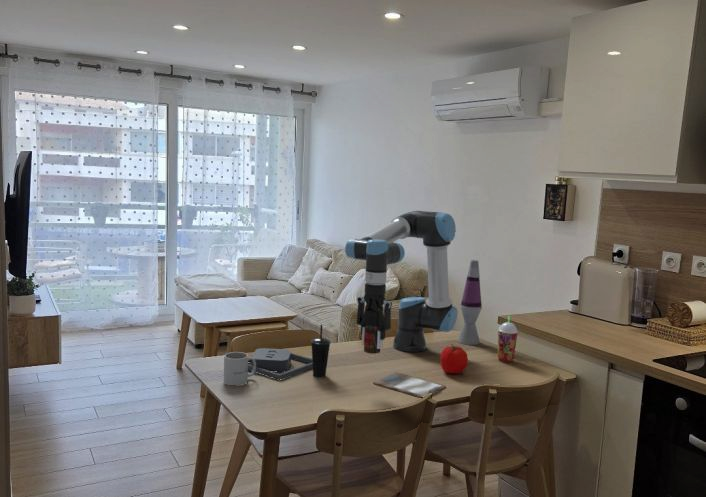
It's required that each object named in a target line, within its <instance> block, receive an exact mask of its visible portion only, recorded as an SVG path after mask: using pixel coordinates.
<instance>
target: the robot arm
mask: <svg viewBox="0 0 706 497" xmlns="http://www.w3.org/2000/svg"><path fill="white" fill-rule="evenodd" d="M455 233H456V223H455V219H454V217H453V215H451V214H449V213H447V212H441V211H439V212H438V211H422V210H412V211H407V212H405V213H403V214H400V215H398V216H396V217H394V218H393V219H392V220H391V221H390V223H388V224H386V225H384V226H383V227H381V228H379V229H377V230H376V231H373V232H371V233H369V234H368V235H366V236H364V237H361V238H359V239H358V238H351V239H349V240H348V241H347V242H346V243H345V248H344V250H345V255H346V257H347V258H349V259H353V260H359V261H365V274H364V275H365V278H364V281H365V283H364V296H359V297H357V298H356V299H357V313H356V324H357V325H359V326H360V335H361V336H362V337H361V345H362V346H364V338H365V317H366V310H371V309H375V312H378V323H379V328H380V330H379V331H378V338H377V349H380V350H381V349H382V348H384V340H385V339H386V331H389V330H390V329H391V327H392V323H391V322H392V321H391V320H392V318H391V317H392V316H391V314H392V311H391V310H392V306H393V303H392V302H391V301H387V300H386V297H385V295H386V293H387V292H386V291H387V290H386V289H387V288H386V287H387V286H386V283H387V268H388V265H392V264H397V263H399V262H401V261H403V259H404V258H405V255H406V254H405V248H404V247H403V245H402V244H401V243H399V242H396V241H398V240H403V239H404V240H405V239H407V238H417V239H422V242H423V243H422V245H423V246H424V247H425V248H426V258H427V280H428V281H427V282H428V283H427V286H428V287H427V288H428V298H427V299H426V298H425V297H422V296H418V297H417V296H409V297H405V298H402V299H401V300H399V307H398V321H397V322H398V323H397V331H396V334H395V337H394V339H393V341H392V342H393V343H392V347H393V348H394V349H396V350H399V351H402V352H409V353H410V352H411V353H418V352H422V351H425V350H426V349H427V342H426V338H425V334H424V329H427V330H432V331H437V332H439V333H440V332H443V333H449V332H451V331H452V330H453V329H454V327H455V324H456V321H457V319H458V309H457V307H456V306H453V301H452V299H451V298H450V297H449V271H448V269H449V268H448V265H449V264H448V262H449V261H448V247H449V246H450V245H451V244H452V243H451V242H452V241H453V240H454V239H455V238H456V237H455V235H456V234H455Z"/></svg>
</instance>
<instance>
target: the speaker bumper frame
mask: <svg viewBox="0 0 706 497" xmlns="http://www.w3.org/2000/svg"><path fill="white" fill-rule="evenodd" d="M250 357H252V355H251V356H250ZM292 358H293V359H292ZM291 359H292V360H295V359H296V360H295V361H298V360H299V361H298V362H301V363H306V364H304V365H302V366H299V367H298V366H297V367H295V368H293V369H289V370H288V371H286V372H280V373H278V372H271V371H268V370H265V369H262V368H259V367H256V370H255V372H258V373H261V374H264V375H267V376H269V377H268V378H270V377H273V378H275V379H274V380H276V379H279V380H280V379H282V380H284V379H283V378H285V379H287V378H286V377H288V378H290V377H293V376H296V375H298V373H299V374H301V373H304V372H306V370H307V371H309V370H311V369H312V370H313V363H312V358H311V357H308V356H307V357H306V356H304V355H300V354H297V353H293V352H291ZM248 362H251V360H248ZM308 363H309V364H308ZM249 370H253V365H251V364H250V363H248V371H249ZM258 373H257V374H258ZM261 374H260V375H261ZM295 374H296V375H295ZM264 375H263V376H264ZM292 375H293V376H292ZM267 376H266V377H267ZM289 376H290V377H289ZM273 378H272V379H273ZM279 380H278V381H279ZM280 381H281V380H280Z"/></svg>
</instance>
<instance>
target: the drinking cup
mask: <svg viewBox="0 0 706 497" xmlns="http://www.w3.org/2000/svg"><path fill="white" fill-rule="evenodd" d="M319 334H320V335H319V337H316V338H312V339H311V340H310V343H311V357H312V358H311V359H312V363H313V368H312V375H313V377H314V378H324V377H326V376H327V368H328V367H327V366H328V360H329V354H330V345H331V342H332V341H331V340H330V339H328V338H326V337H323V324H320V331H319Z"/></svg>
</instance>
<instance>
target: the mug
mask: <svg viewBox="0 0 706 497" xmlns="http://www.w3.org/2000/svg"><path fill="white" fill-rule="evenodd" d="M248 360H252V361H253V370H252V371H250V373H249V370H248V364H249V363H248ZM223 362H224V363H223V384H224V383H225V384H224V385H226V384H228V385H227V386H229V385H241V386H243V385H242V384H245V383H246V382H247V381H248V378H249V377H252V376H254V375H255V374H256V373H255V370H256V362H255V359H254V358H252V357H251V356H249V354H248V353H246V352H242V351H231V352H226V353H225V354H224V355H223ZM247 383H248V382H247ZM247 383H246V384H247ZM246 384H245V385H246Z"/></svg>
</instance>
